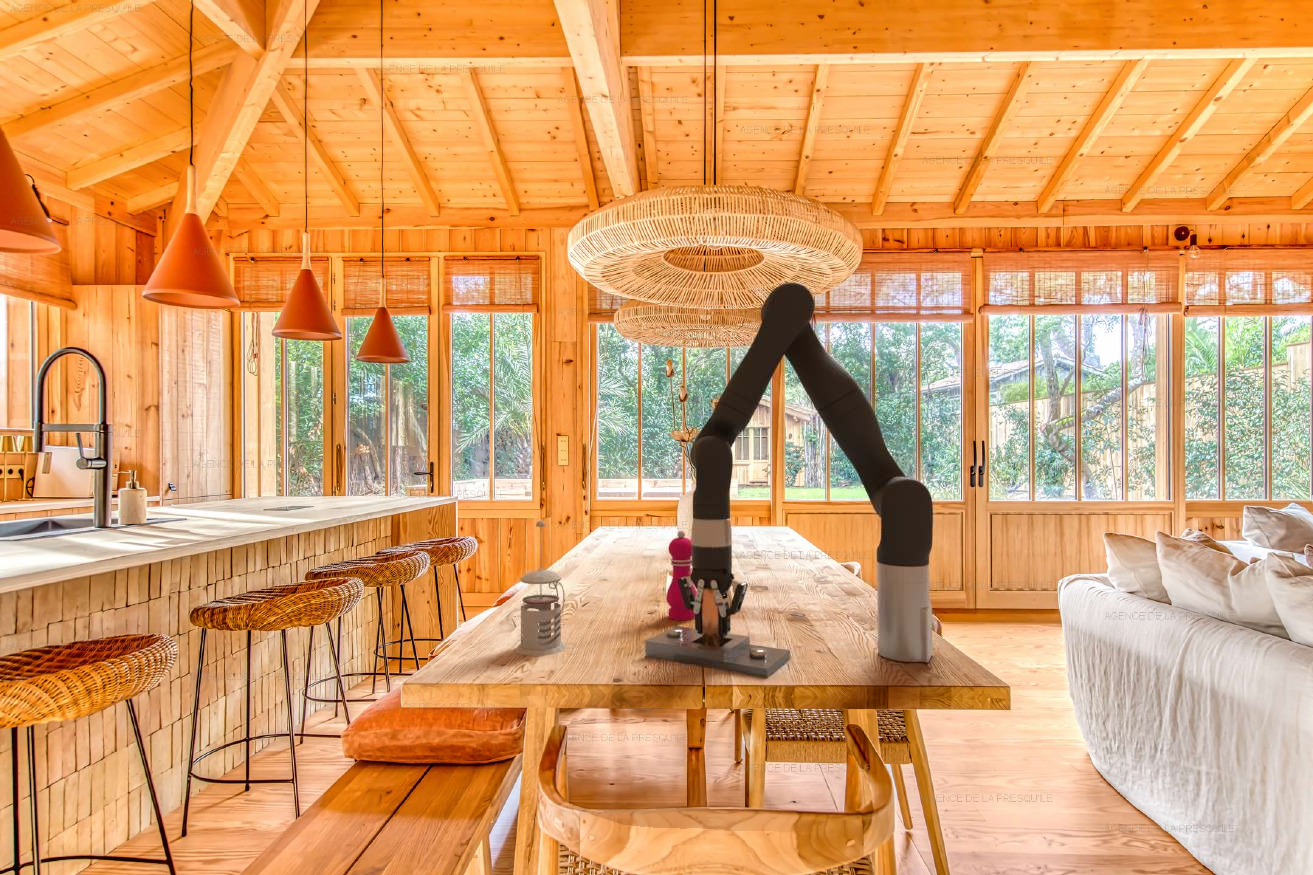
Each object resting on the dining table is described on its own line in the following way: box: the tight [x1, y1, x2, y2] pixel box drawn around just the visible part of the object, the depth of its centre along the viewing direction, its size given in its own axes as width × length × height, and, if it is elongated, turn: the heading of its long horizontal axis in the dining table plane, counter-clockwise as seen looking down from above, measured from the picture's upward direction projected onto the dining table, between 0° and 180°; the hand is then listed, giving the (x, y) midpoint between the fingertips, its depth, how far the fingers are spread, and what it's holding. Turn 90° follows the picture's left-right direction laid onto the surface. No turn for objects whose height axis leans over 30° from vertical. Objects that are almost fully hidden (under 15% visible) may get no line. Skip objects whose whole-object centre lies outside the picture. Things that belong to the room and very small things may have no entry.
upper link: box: [644, 625, 751, 663], centre depth 125 cm, size 16×12×4 cm
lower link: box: [673, 644, 791, 679], centre depth 121 cm, size 18×12×2 cm, turn 60°
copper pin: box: [702, 588, 724, 647], centre depth 124 cm, size 4×4×12 cm
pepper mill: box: [665, 530, 697, 621], centre depth 154 cm, size 7×7×20 cm
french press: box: [515, 520, 567, 657], centre depth 131 cm, size 10×12×25 cm
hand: (712, 634), depth 123 cm, fingers closed on copper pin, 4 cm apart
